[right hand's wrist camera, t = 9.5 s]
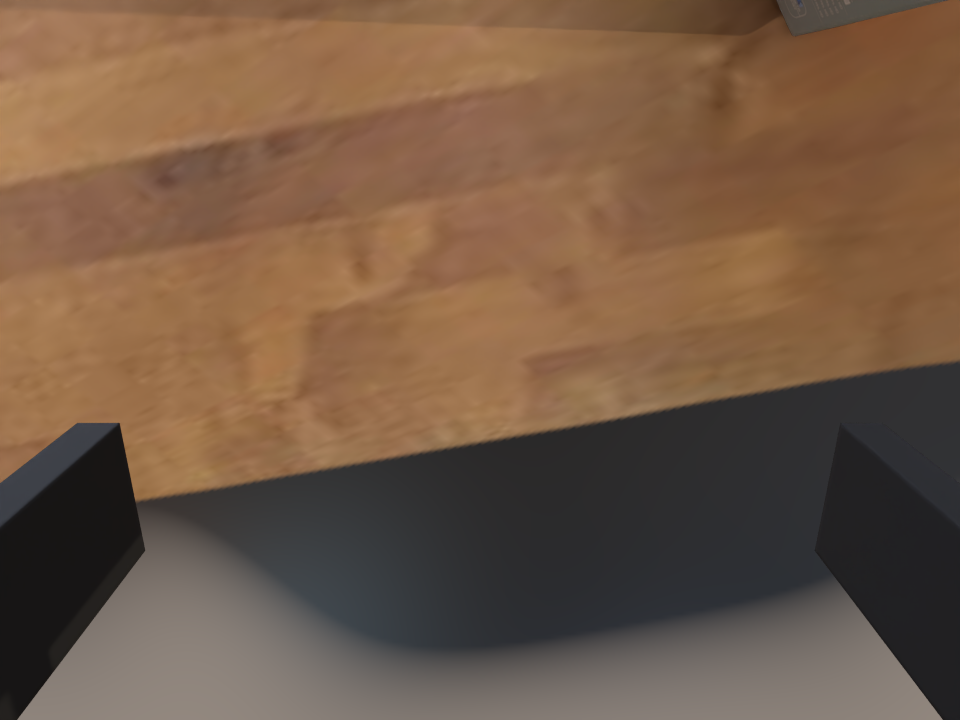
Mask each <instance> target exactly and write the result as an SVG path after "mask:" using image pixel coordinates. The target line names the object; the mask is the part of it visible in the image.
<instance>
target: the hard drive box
mask: <svg viewBox="0 0 960 720" xmlns="http://www.w3.org/2000/svg"><path fill="white" fill-rule="evenodd" d="M776 1H777V3H778V5H779V7H780V10H781V12H782V14H783V17H784V19H785V21H786V24H787V26H788V28H789V30H790V32H791V34H792V35H793V36H798V35H802V34H807V33H812V32H816V31H821V30H824V29H830V28H834V27H838V26H842V25H847V24H851V23H855V22H859V21H863V20H867V19H871V18H875V17H880V16H884V15H888V14H892V13H896V12H901V11H905V10H909V9H913V8H917V7H921V6H926V5H930V4H934V3H938V2H942V1H947V0H776Z"/></svg>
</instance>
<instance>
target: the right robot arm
mask: <svg viewBox="0 0 960 720" xmlns="http://www.w3.org/2000/svg"><path fill="white" fill-rule="evenodd" d="M144 551H145V547H144V542H143V537H142V532H141V528H140V523H139V518H138V513H137V508H136V503H135V498H134V493H133V488H132V483H131V478H130V473H129V468H128V463H127V458H126V453H125V448H124V443H123V438H122V433H121V428H120V423H77V424H76V425H74V426H73V427H72V428H70V429H69V430H68V431H67V432H65V433H64V434H63V435H62V436H60V437H59V438H58V439H56V440H55V441H54V442H53V443H51V444H50V445H49V446H47V447H46V448H45V449H44V450H42V451H41V452H40V453H38V454H37V455H36V456H35V457H33V458H32V459H31V460H29V461H28V462H27V463H26V464H24V465H23V466H22V467H21V468H19V469H18V470H17V471H15V472H14V473H13V474H12V475H10V476H9V477H8V478H6V479H5V480H4V481H3V482H1V483H0V720H17V719H18V718H19V716H20V715H21V714H22V713H23V711H24V710H25V709H26V707H27V706H28V705H29V703H30V702H31V701H32V699H33V698H34V697H35V695H36V694H37V693H38V691H39V690H40V689H41V687H42V686H43V685H44V683H45V682H46V681H47V679H48V678H49V677H50V676H51V674H52V673H53V672H54V670H55V669H56V668H57V666H58V665H59V664H60V662H61V661H62V660H63V658H64V657H65V656H66V654H67V653H68V652H69V650H70V649H71V648H72V647H73V645H74V644H75V643H76V641H77V640H78V639H79V637H80V636H81V635H82V633H83V632H84V631H85V629H86V628H87V627H88V625H89V624H90V623H91V621H92V620H93V619H94V617H95V616H96V615H97V613H98V612H99V611H100V610H101V608H102V607H103V606H104V604H105V603H106V602H107V600H108V599H109V598H110V596H111V595H112V594H113V592H114V591H115V590H116V588H117V587H118V586H119V584H120V583H121V582H122V581H123V579H124V578H125V577H126V575H127V574H128V572H129V571H130V570H131V569H132V567H133V566H134V565H135V563H136V562H137V561H138V559H139V558H140V557H141V555H142V554H143V553H144ZM815 551H816V553H817V554H818V555H819V557H820V558H821V559H822V561H823V562H824V563H825V565H826V566H827V567H828V569H829V570H830V571H831V573H832V574H833V575H834V577H835V578H836V579H837V581H838V582H839V583H840V584H841V586H842V587H843V588H844V590H845V591H846V592H847V594H848V595H849V596H850V598H851V599H852V600H853V602H854V603H855V604H856V606H857V607H858V608H859V610H860V611H861V612H862V613H863V615H864V616H865V617H866V619H867V620H868V621H869V623H870V624H871V625H872V627H873V628H874V629H875V631H876V632H877V633H878V635H879V636H880V637H881V639H882V640H883V641H884V643H885V644H886V645H887V647H888V648H889V649H890V650H891V652H892V653H893V654H894V656H895V657H896V658H897V660H898V661H899V662H900V664H901V665H902V666H903V668H904V669H905V670H906V671H907V673H908V674H909V675H910V677H911V678H912V680H913V681H914V682H915V683H916V685H917V686H918V687H919V689H920V690H921V691H922V693H923V694H924V695H925V697H926V698H927V699H928V701H929V702H930V703H931V705H932V706H933V707H934V708H935V710H936V711H937V713H938V714H939V715H940V716H941V718H942V719H943V720H960V483H959V482H957V481H956V480H955V479H954V478H952V477H951V476H950V475H948V474H947V473H946V472H945V471H943V470H942V469H941V468H939V467H938V466H937V465H936V464H934V463H933V462H932V461H931V460H929V459H928V458H927V457H925V456H924V455H923V454H922V453H920V452H919V451H918V450H916V449H915V448H914V447H913V446H911V445H910V444H909V443H907V442H906V441H905V440H904V439H902V438H901V437H900V436H898V435H897V434H896V433H895V432H893V431H892V430H891V429H890V428H888V427H887V426H886V425H884V424H883V423H841V424H840V428H839V433H838V438H837V443H836V448H835V453H834V458H833V463H832V468H831V473H830V478H829V483H828V488H827V493H826V498H825V503H824V508H823V513H822V518H821V523H820V527H819V532H818V537H817V543H816V547H815Z"/></svg>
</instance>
